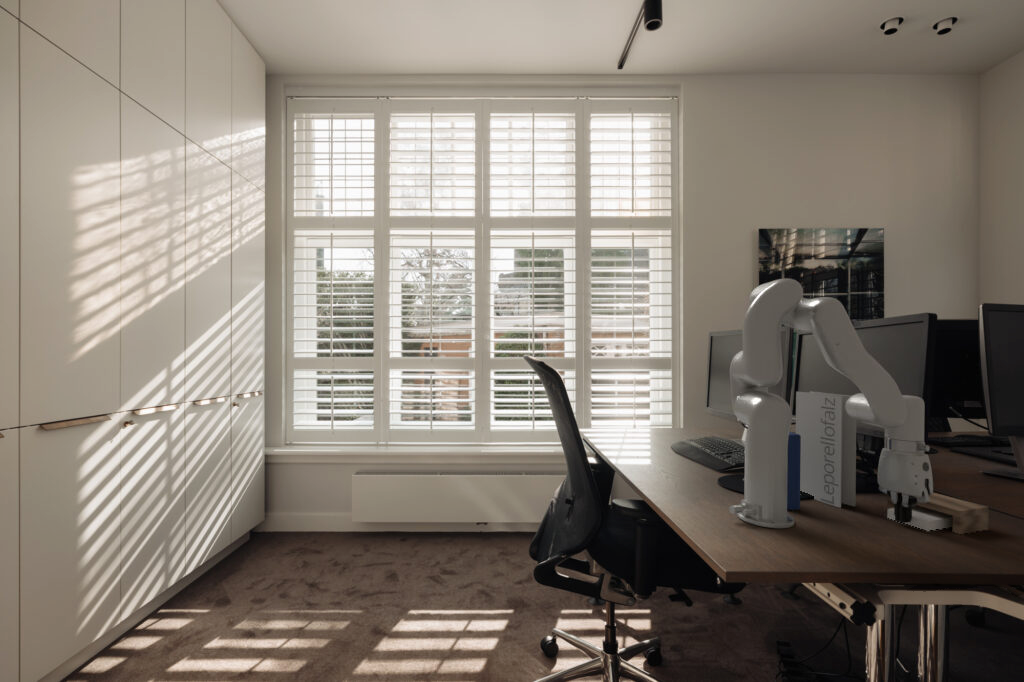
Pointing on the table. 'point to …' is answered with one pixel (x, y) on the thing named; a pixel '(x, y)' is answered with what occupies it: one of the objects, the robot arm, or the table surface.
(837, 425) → the brochure
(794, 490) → the electronic device
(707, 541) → the table surface
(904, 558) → the table surface
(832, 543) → the table surface
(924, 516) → the white sponge pad
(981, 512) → the overhang shelf
